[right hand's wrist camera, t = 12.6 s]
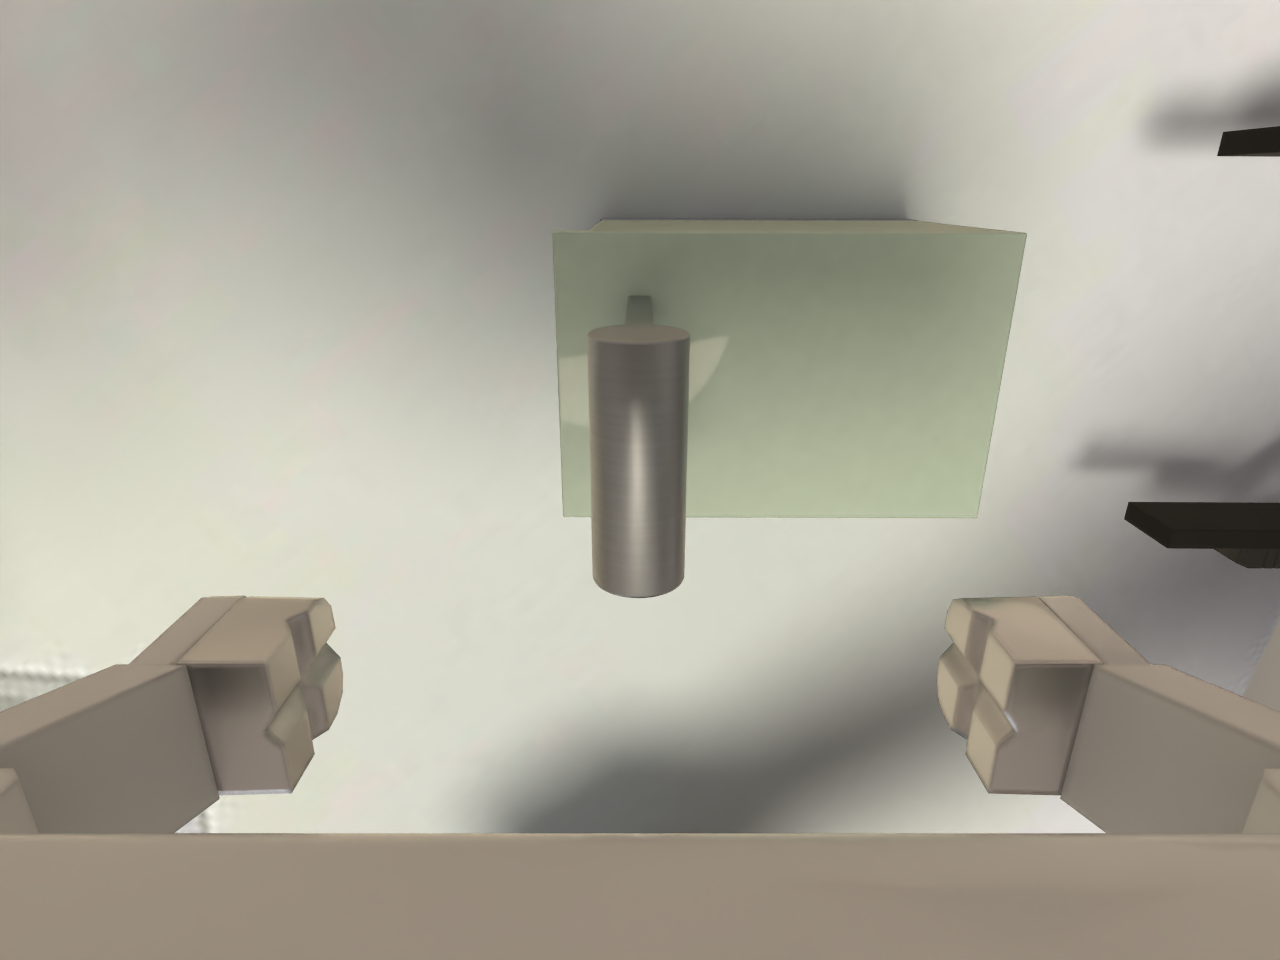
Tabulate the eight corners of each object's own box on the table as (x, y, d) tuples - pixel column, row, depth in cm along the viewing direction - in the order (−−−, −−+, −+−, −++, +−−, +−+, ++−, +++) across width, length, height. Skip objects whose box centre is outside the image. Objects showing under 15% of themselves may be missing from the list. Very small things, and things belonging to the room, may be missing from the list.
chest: (604, 425, 35) (592, 504, 26) (601, 218, 32) (585, 229, 23) (882, 425, 35) (963, 505, 26) (907, 219, 32) (1010, 230, 23)
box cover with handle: (566, 504, 26) (528, 661, 17) (556, 230, 23) (503, 254, 14) (964, 505, 26) (1125, 663, 17) (1010, 230, 23) (1236, 256, 14)
